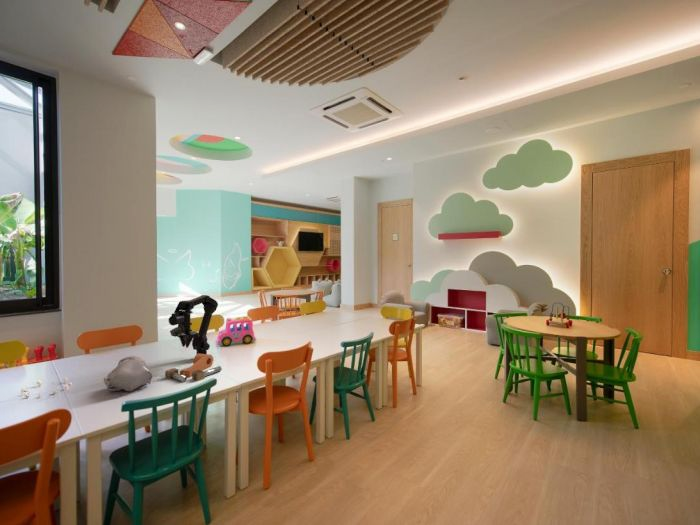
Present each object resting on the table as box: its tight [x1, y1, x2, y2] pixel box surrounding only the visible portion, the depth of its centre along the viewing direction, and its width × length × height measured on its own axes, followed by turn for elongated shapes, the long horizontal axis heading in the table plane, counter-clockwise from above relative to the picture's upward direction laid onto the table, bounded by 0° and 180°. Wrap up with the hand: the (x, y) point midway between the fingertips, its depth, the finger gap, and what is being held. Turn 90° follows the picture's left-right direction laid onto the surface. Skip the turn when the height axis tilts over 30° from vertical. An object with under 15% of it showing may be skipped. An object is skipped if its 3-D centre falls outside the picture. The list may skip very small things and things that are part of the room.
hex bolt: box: [164, 367, 188, 383], centre depth 179 cm, size 14×5×4 cm, turn 58°
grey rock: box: [103, 355, 153, 392], centre depth 166 cm, size 20×18×15 cm
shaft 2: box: [191, 365, 222, 382], centre depth 185 cm, size 16×5×4 cm, turn 148°
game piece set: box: [18, 377, 73, 399], centre depth 163 cm, size 19×20×4 cm
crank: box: [179, 353, 214, 379], centre depth 192 cm, size 20×8×8 cm, turn 165°
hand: (185, 347), depth 198 cm, fingers open, 3 cm apart
